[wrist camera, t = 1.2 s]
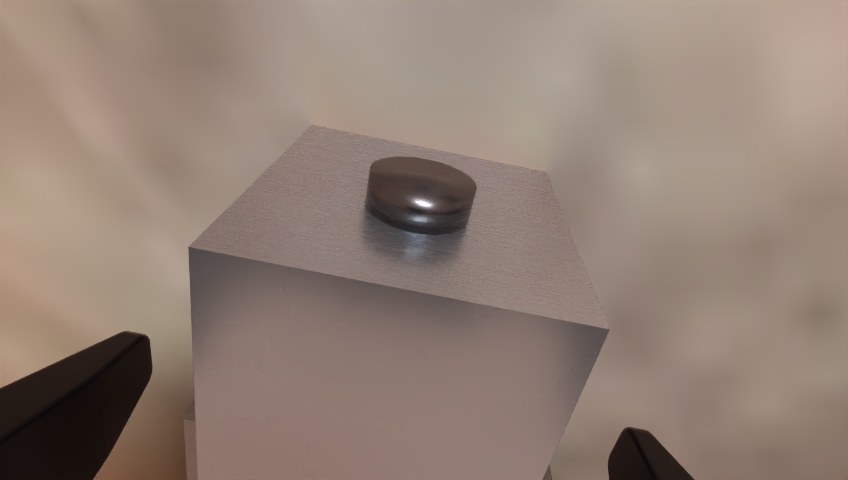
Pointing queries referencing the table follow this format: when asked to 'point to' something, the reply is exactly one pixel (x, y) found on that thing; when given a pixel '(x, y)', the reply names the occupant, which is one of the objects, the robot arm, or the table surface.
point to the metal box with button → (388, 319)
